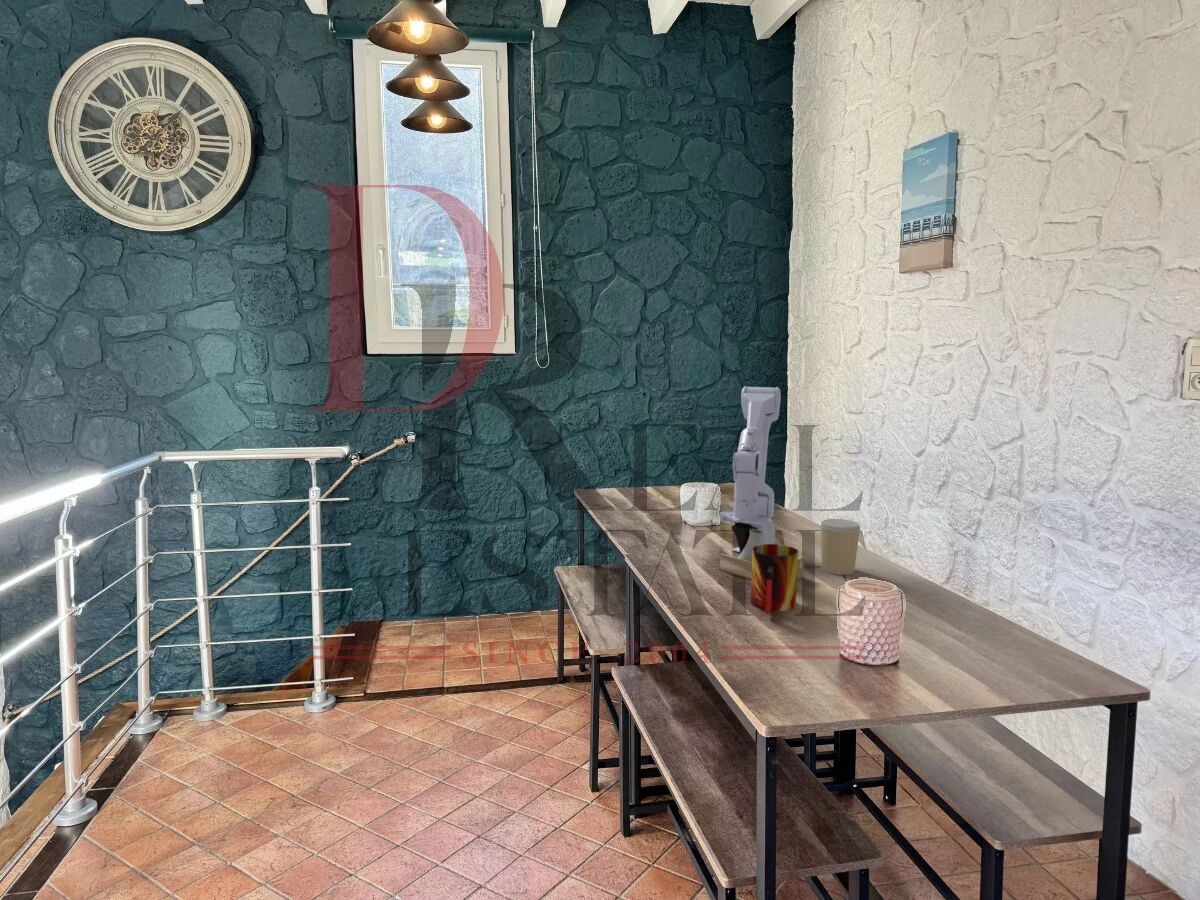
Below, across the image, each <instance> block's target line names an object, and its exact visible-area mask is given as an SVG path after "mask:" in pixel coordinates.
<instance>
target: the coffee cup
mask: <svg viewBox="0 0 1200 900" xmlns="http://www.w3.org/2000/svg"><path fill="white" fill-rule="evenodd" d="M860 531H861V526H860V523H859V522H856V521H854V520H851V519H850V520H849V519H844V518H827V519H824V520H822V521H821V523H820V538H821V539H820V540H821V541H820V543H821V544H820V545H821V550H820V551H821V570H822V571H823V572H825V573H827V574H832V575H837V576H838V575H839V576H848V575H852V574H854V572H855V568H856V560H857V554H858V553H857V552H858V545H859V540H860V539H859V537H860Z"/></svg>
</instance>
